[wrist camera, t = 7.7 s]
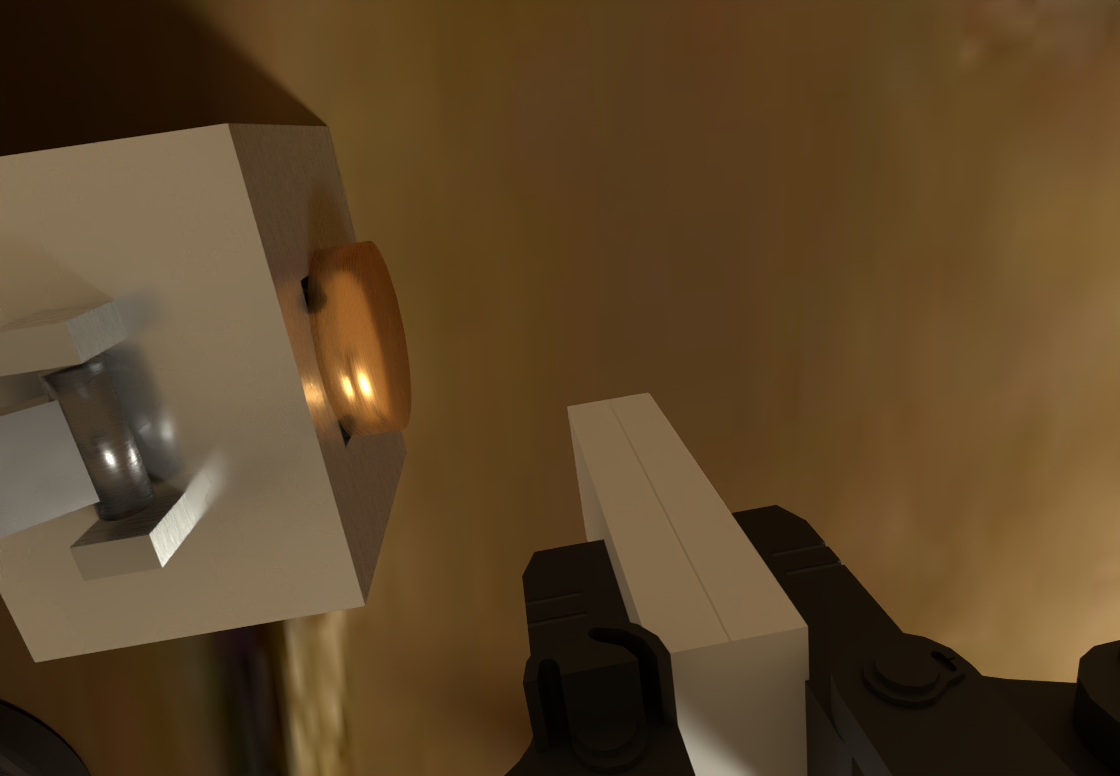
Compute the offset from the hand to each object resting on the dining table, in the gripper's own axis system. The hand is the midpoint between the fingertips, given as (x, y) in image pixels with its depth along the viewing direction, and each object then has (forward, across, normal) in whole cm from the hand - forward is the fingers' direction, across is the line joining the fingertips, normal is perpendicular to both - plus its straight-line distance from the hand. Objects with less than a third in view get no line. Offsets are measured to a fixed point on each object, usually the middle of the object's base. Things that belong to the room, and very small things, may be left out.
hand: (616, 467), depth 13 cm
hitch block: (+18, -12, 0) cm, 22 cm away
